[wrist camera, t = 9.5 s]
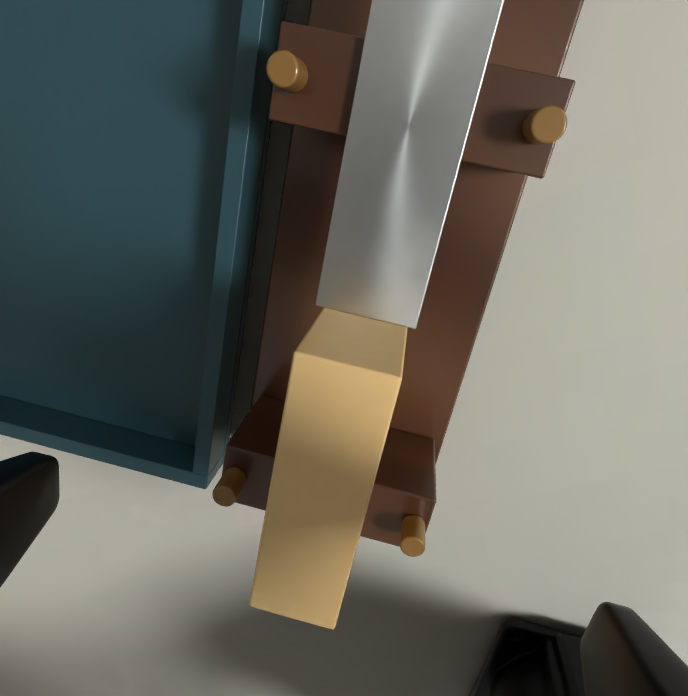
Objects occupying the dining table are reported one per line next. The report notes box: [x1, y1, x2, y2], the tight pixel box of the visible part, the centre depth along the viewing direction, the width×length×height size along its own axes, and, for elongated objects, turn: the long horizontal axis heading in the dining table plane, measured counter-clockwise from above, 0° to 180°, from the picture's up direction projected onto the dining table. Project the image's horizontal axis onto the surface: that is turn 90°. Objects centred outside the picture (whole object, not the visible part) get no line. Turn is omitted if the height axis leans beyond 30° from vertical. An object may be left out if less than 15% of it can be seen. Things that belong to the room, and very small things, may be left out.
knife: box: [250, 0, 504, 629], centre depth 11 cm, size 16×3×3 cm, turn 169°
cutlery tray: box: [0, 0, 287, 489], centre depth 17 cm, size 20×15×2 cm
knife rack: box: [213, 0, 584, 557], centre depth 14 cm, size 17×7×6 cm, turn 169°
